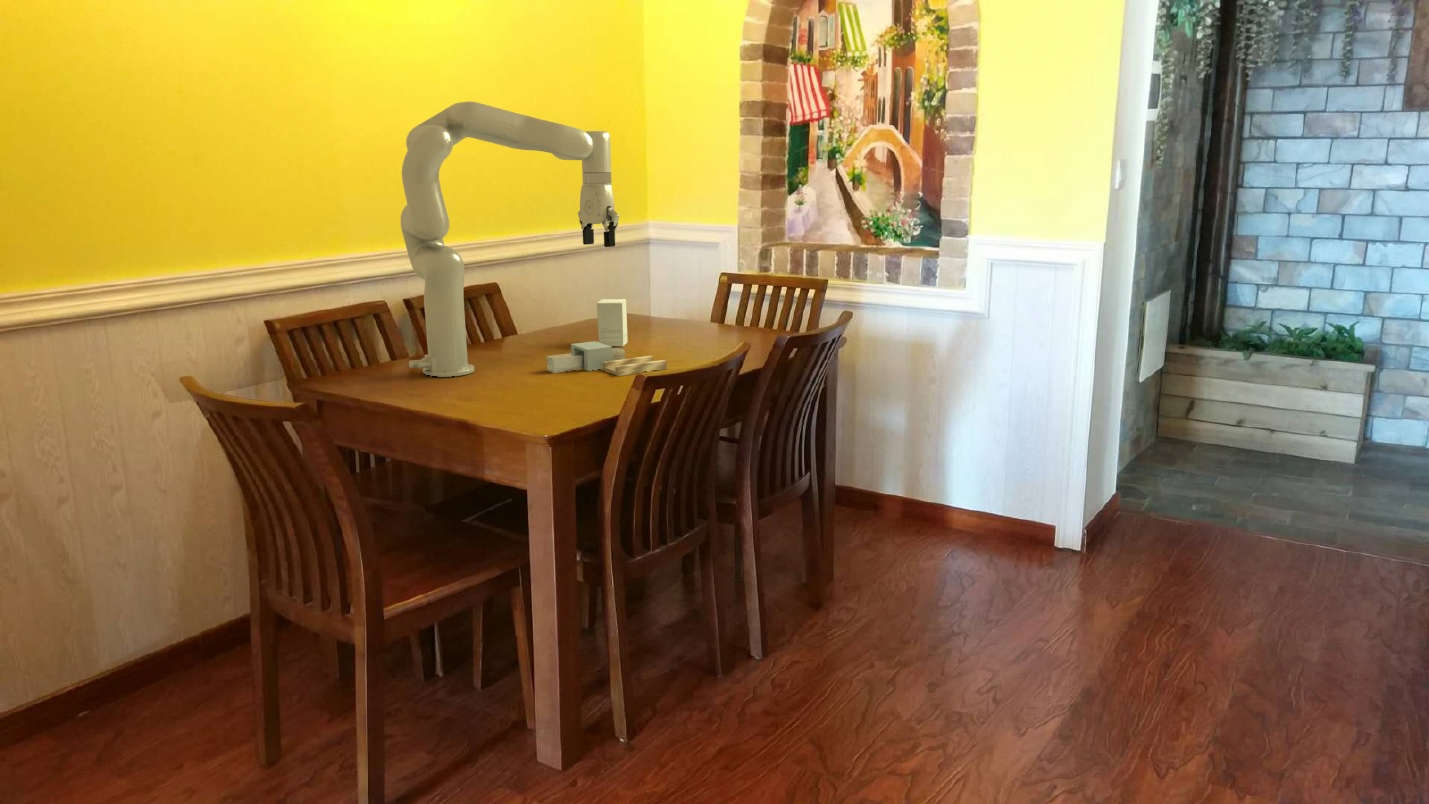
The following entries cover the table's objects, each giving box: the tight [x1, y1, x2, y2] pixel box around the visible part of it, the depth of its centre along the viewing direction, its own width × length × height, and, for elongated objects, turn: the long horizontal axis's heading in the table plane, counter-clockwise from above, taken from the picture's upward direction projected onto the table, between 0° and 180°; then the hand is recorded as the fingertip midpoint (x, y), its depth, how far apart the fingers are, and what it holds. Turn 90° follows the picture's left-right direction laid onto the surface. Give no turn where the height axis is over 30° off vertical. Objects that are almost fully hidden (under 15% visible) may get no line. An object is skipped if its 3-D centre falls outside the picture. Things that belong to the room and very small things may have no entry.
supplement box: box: [596, 298, 629, 347], centre depth 295 cm, size 7×7×13 cm
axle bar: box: [546, 347, 626, 374], centre depth 266 cm, size 20×4×4 cm, turn 122°
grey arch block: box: [570, 341, 613, 372], centre depth 267 cm, size 7×9×6 cm
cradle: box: [602, 355, 668, 377], centre depth 263 cm, size 14×8×2 cm, turn 124°
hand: (599, 245), depth 276 cm, fingers open, 9 cm apart
